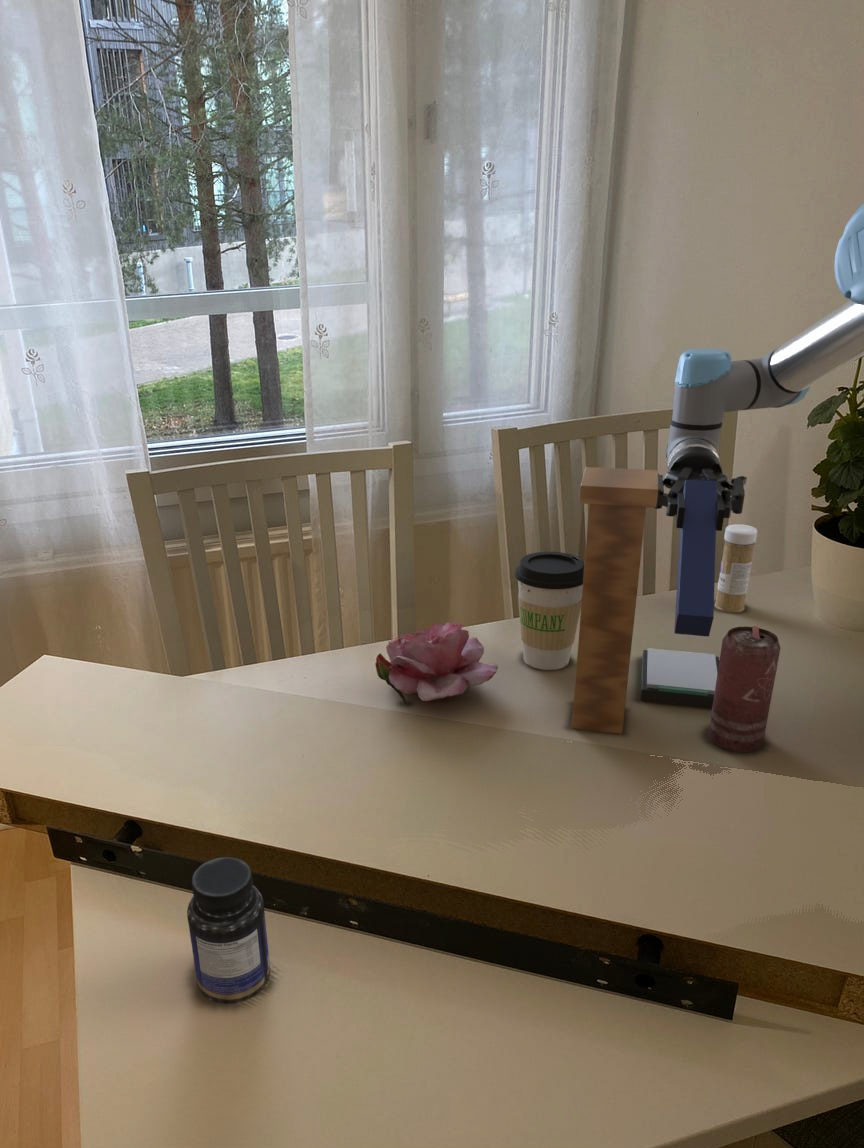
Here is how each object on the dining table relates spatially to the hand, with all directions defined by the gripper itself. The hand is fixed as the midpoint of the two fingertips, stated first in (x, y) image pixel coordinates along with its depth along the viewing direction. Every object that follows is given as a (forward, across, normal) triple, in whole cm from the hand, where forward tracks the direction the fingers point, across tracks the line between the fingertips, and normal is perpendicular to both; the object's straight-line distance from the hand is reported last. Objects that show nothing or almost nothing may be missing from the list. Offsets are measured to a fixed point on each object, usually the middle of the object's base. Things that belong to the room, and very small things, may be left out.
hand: (700, 518), depth 114 cm
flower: (+13, +31, -23) cm, 40 cm away
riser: (+15, +10, -22) cm, 29 cm away
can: (+16, -6, -22) cm, 28 cm away
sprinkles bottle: (-25, -8, -23) cm, 35 cm away
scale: (+3, 0, -22) cm, 22 cm away
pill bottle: (+65, +37, -22) cm, 78 cm away
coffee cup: (0, +18, -23) cm, 29 cm away
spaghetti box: (+1, 0, -6) cm, 6 cm away
